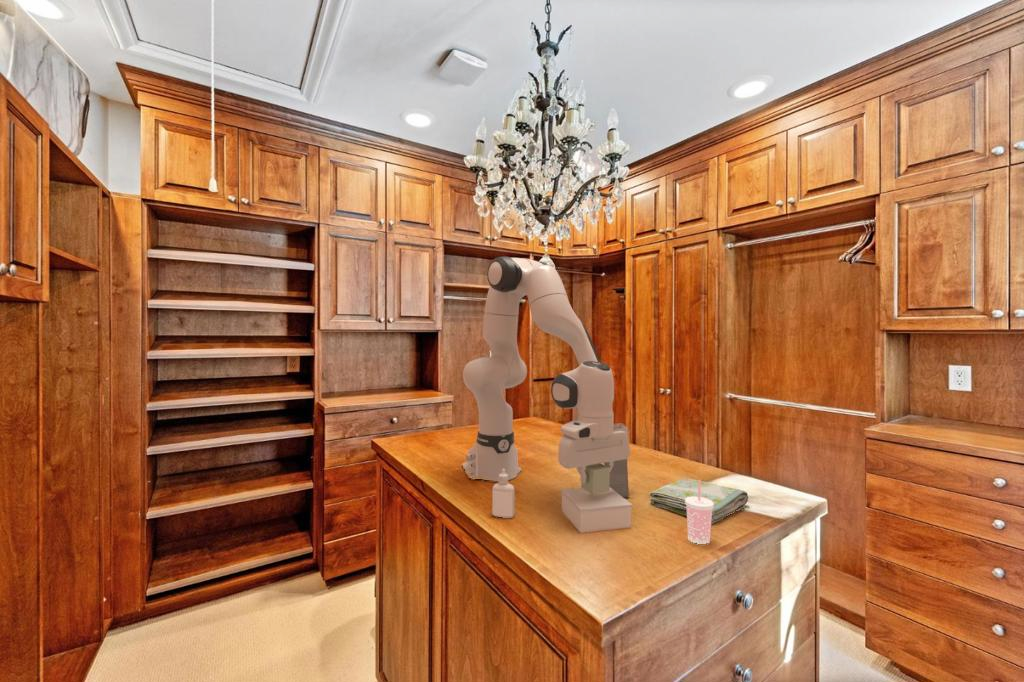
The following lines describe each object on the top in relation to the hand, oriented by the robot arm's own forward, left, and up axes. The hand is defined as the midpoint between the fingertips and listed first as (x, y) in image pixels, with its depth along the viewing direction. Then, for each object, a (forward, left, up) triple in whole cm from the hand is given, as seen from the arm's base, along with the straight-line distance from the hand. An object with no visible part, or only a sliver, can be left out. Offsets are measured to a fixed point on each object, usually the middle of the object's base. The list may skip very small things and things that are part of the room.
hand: (595, 480), depth 114 cm
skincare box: (-12, +17, -10) cm, 23 cm away
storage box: (0, 0, -10) cm, 10 cm away
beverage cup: (+20, +14, -10) cm, 26 cm away
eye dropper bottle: (-12, -20, -10) cm, 25 cm away
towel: (+6, +31, -10) cm, 33 cm away
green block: (0, 0, -2) cm, 2 cm away
